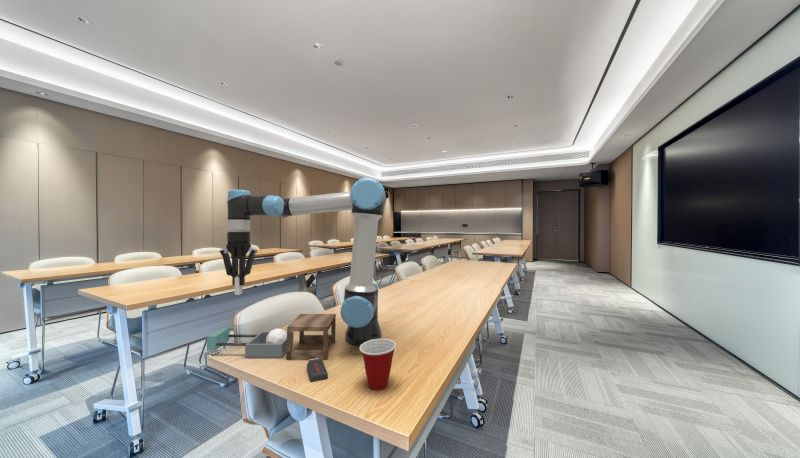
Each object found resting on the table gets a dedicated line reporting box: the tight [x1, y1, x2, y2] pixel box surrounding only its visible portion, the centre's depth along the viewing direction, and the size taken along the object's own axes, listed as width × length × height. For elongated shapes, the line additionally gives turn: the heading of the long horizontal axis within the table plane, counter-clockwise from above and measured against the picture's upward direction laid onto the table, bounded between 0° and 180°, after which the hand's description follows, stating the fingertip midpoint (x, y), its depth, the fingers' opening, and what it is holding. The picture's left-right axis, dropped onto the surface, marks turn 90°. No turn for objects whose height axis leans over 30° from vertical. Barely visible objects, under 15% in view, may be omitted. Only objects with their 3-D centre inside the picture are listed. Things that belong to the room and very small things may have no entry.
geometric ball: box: [266, 328, 287, 344], centre depth 108 cm, size 8×8×8 cm
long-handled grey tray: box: [206, 327, 295, 358], centre depth 106 cm, size 27×13×7 cm, turn 93°
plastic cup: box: [359, 338, 397, 391], centre depth 85 cm, size 11×11×12 cm
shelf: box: [286, 313, 337, 361], centre depth 107 cm, size 14×15×12 cm
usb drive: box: [306, 358, 329, 383], centre depth 92 cm, size 5×12×3 cm, turn 24°
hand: (238, 293), depth 108 cm, fingers closed
